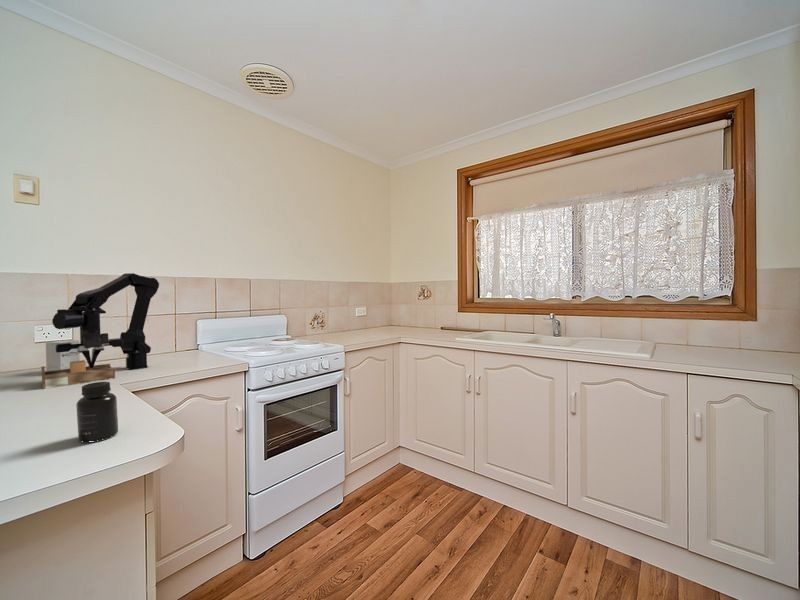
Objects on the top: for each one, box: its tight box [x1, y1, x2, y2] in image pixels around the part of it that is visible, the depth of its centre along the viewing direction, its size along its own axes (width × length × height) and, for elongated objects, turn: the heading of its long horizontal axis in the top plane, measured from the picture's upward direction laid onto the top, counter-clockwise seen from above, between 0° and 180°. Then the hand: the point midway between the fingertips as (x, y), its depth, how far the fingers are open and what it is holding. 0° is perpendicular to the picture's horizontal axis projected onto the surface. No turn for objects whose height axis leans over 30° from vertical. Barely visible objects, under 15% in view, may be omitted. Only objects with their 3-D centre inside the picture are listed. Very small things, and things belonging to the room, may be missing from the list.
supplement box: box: [45, 339, 81, 372], centre depth 143 cm, size 7×7×13 cm
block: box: [70, 359, 87, 373], centre depth 128 cm, size 4×4×4 cm
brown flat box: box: [41, 363, 116, 390], centre depth 128 cm, size 19×11×6 cm, turn 137°
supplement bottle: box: [76, 381, 119, 442], centre depth 78 cm, size 7×7×12 cm
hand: (91, 367), depth 131 cm, fingers closed
